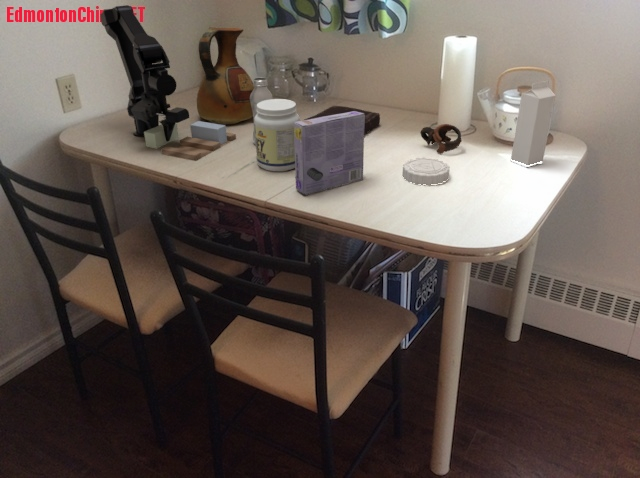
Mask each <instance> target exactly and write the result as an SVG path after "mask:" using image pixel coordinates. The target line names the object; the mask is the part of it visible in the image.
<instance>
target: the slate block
mask: <svg viewBox="0 0 640 478" xmlns="http://www.w3.org/2000/svg"><path fill="white" fill-rule="evenodd" d="M226 125H227V124H217V123H212V122H206V121H201V120H198V121H195V122H193V123H192V124H190V125H189V127H190V133H191V137H193V138H199V139H204V140H210V141H215V142H220V145H222V144H224V143H226V142H227V134H226V132H227V126H226Z"/></svg>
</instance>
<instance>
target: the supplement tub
mask: <svg viewBox="0 0 640 478" xmlns="http://www.w3.org/2000/svg"><path fill="white" fill-rule="evenodd" d="M297 121H301V117H300V115H299V114H298V113H297V104H296V101H293V100H290V99H284V98H273V99H270V100H264V101H261V102H259V103H258V104H257V114H256V116H255V118H254V119H253V125H254V124H255V138H256V145H255V152H256V162H257V164H258V166H259V167H260V168H262V169H263V170H266V171H271V172H285V171H290V170H293V169H294V170H295V143H294V122H297Z"/></svg>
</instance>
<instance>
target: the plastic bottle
mask: <svg viewBox="0 0 640 478" xmlns="http://www.w3.org/2000/svg"><path fill="white" fill-rule="evenodd" d="M253 84H254V87H255V88H254V89H253V91H252V93H251V94H250V103H251V107H252V112H253V117H252V119H253V120H254V118H255V116H256V114H257V104H258V103H259V102H261V101H264V100H270V99H274V97H273V94H272V92H271V91H270V90H269V88H268V87H267V86H268V80H267V77H255V78H253ZM252 141H253V144H254V145H255V146H256V138H255V124H254V123H253V134H252Z"/></svg>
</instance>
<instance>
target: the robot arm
mask: <svg viewBox="0 0 640 478" xmlns="http://www.w3.org/2000/svg"><path fill="white" fill-rule="evenodd" d="M99 15H100V16H99V19H100V21H101V22H100V23H101V25H102V27H104V29H105V31H106V34H107V35H108V36H110V38H112V39H113V40H114V42H115V44H116V48H117V50H118V53H119V56H120V59H121V61H122V62H121V63H122V64H123V67H124V68H123V69H124V70H125V74H126V76H127V80H128V83H129V85H130V86H129V87H130V89H129V92H128V99H129V100H128V103H127V107H126V110H127V113H128V116H129V117H130V118H132V119H133V120H134V126H135V132H133V133H132V135H133V136H137V137H141V138H145V135H144V132H145V131H147V130H150V129H152V128H154V127H156V126H159V125H161V124H162V125H163V128H164V133H165V138H166V141H170V138H171V135H172V132H173V129H174V126H175V124H179V123H182V122H184V121H186V120H188V119H190V113H189V110H188V109H187V108H185V107H179V106H177V107H174V108H172V109H170V108H171V104H170V103H167V102H168V101H167V96H171V95H172V94H174V93H175V91H176V89H177V81H176V79H175V78H174V76H172V75H171V74H169V72H168V69H171V66H170V60H169V59H170V58H169V57H168V55H167V53H166V51H165V49H164V47H163V46H162V44H160V42H159V41H158V40H157V39H156V37H153V36H151V35H149V34H148V32H147V31H146V30H145V29H144V27H143V26H142V24H141V23H140V21H139V19H138V18H137V16H136V15H135V13H134V9H133V7H132V6H131V5H127V4H126V5H125V4H124V5H116V6H114V7H112V8H105V9H103V10H102V12H101V13H100V14H99ZM160 116H161V117H163V119H162V120H160V119H159V117H160ZM159 120H160V121H159Z"/></svg>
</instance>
